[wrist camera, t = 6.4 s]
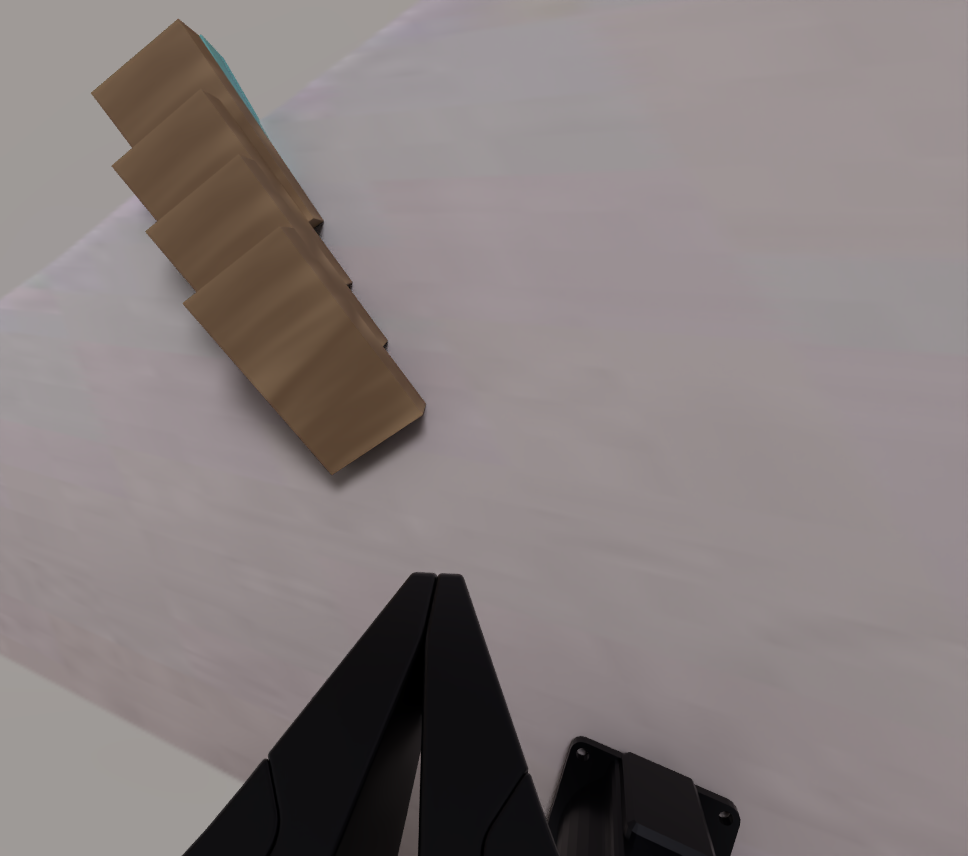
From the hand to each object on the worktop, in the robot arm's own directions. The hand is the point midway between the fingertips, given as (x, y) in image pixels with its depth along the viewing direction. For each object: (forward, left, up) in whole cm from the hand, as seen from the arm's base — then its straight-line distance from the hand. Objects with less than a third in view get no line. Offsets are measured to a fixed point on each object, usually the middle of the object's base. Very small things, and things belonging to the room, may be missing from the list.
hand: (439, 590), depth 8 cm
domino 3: (+5, +13, -13) cm, 19 cm away
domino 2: (+3, +10, -13) cm, 17 cm away
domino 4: (+8, +16, -13) cm, 22 cm away
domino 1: (+1, +8, -13) cm, 15 cm away
